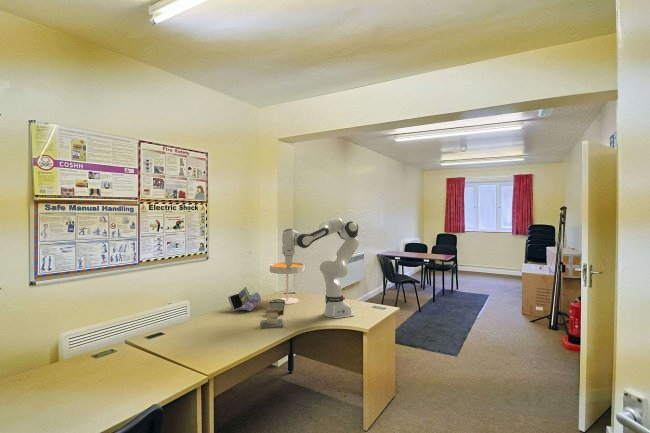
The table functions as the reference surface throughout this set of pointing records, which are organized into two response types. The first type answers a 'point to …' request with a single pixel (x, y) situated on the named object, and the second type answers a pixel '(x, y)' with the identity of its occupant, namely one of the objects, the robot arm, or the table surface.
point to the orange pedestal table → (282, 269)
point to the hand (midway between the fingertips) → (288, 270)
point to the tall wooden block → (272, 315)
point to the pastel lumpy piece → (244, 300)
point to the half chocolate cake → (278, 305)
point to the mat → (265, 325)
